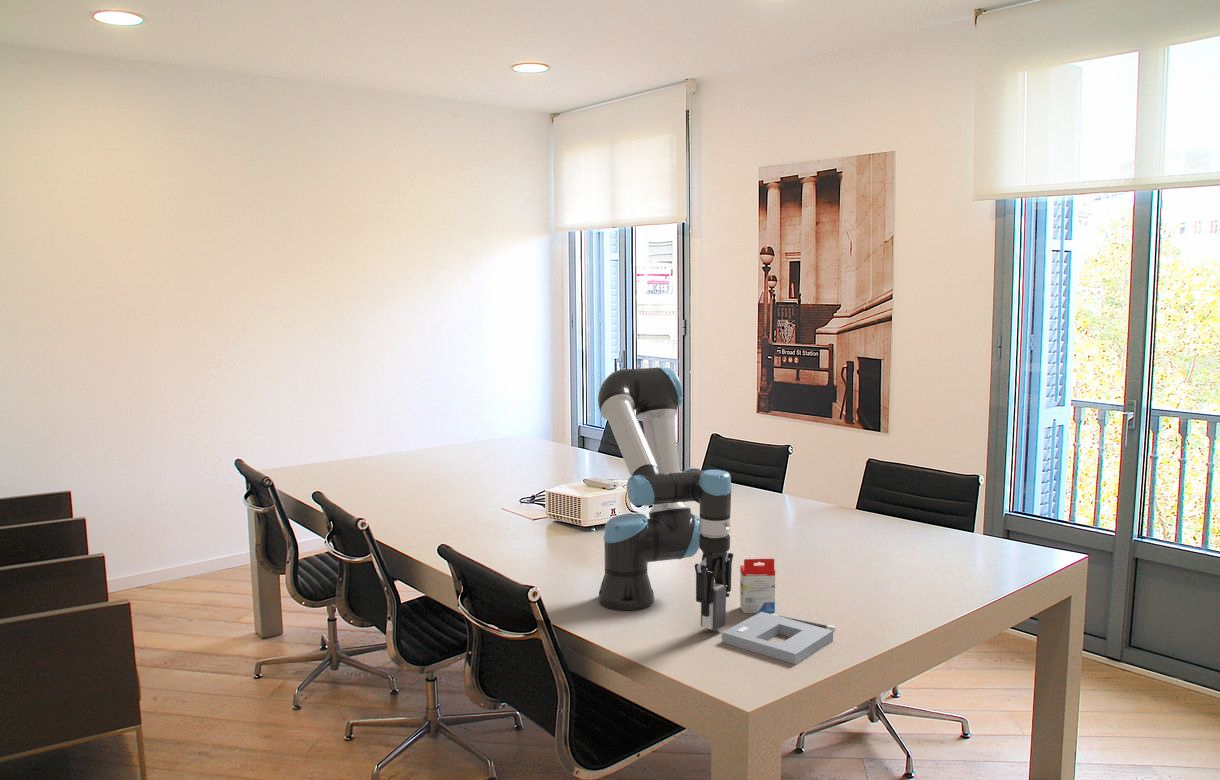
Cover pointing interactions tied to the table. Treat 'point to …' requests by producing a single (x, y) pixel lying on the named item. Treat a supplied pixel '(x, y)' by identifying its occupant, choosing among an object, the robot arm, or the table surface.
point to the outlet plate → (767, 626)
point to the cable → (813, 623)
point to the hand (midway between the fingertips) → (713, 624)
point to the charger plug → (718, 606)
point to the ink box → (757, 586)
